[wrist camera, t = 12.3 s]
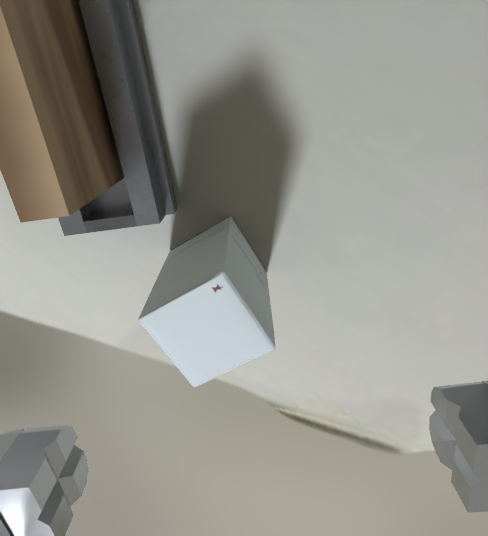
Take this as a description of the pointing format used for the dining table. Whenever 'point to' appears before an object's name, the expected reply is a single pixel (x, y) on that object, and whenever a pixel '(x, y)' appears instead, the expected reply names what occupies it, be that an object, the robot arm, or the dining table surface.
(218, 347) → the supplement box
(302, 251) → the dining table surface
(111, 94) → the tray
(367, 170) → the dining table surface
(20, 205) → the door panel
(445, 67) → the dining table surface
